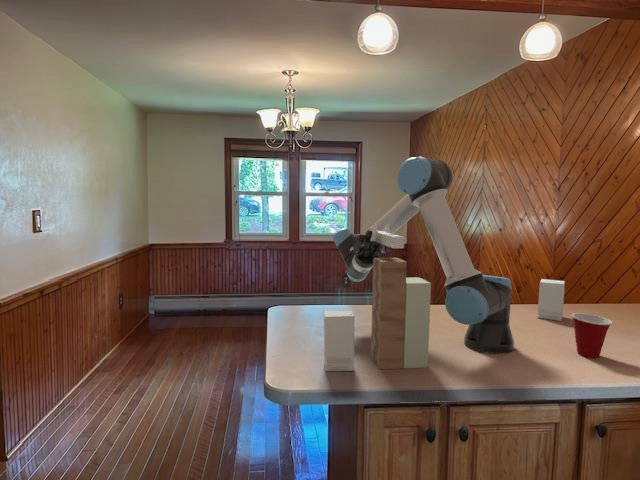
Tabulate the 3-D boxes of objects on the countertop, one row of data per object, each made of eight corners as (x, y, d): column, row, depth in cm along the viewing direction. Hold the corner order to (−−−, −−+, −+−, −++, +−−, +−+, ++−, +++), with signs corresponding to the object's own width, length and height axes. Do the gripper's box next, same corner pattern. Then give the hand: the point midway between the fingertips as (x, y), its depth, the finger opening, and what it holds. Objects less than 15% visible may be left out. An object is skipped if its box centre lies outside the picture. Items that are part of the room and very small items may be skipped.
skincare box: (352, 363, 129) (353, 309, 127) (354, 372, 122) (355, 316, 121) (322, 363, 128) (323, 309, 127) (323, 372, 122) (324, 315, 120)
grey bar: (370, 239, 142) (370, 230, 141) (379, 240, 142) (379, 230, 142) (392, 248, 118) (393, 236, 118) (403, 248, 118) (404, 237, 118)
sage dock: (394, 356, 134) (396, 277, 132) (416, 356, 135) (419, 277, 133) (403, 368, 126) (406, 283, 123) (427, 367, 126) (430, 283, 124)
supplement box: (562, 321, 178) (564, 284, 176) (537, 318, 182) (539, 281, 181) (563, 316, 185) (565, 280, 184) (538, 313, 190) (541, 278, 188)
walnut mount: (370, 357, 133) (373, 257, 131) (393, 356, 134) (396, 257, 132) (378, 369, 125) (381, 261, 122) (403, 368, 126) (406, 261, 123)
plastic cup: (611, 363, 131) (614, 323, 130) (569, 357, 137) (571, 318, 135) (608, 353, 141) (611, 315, 140) (569, 347, 146) (571, 310, 145)
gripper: (388, 268, 155) (409, 239, 133) (342, 268, 152) (356, 239, 131) (386, 248, 158) (406, 217, 137) (341, 248, 155) (354, 216, 134)
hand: (382, 228), depth 134 cm, fingers closed on grey bar, 3 cm apart
